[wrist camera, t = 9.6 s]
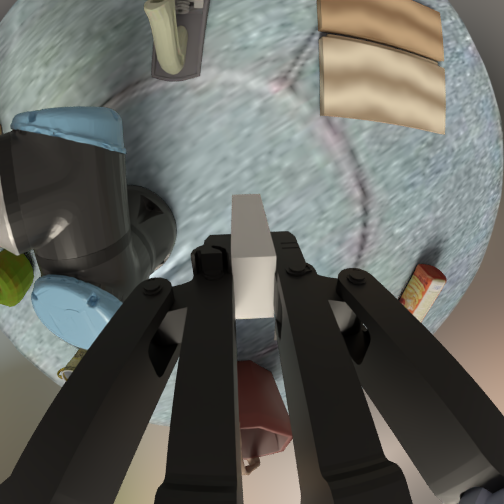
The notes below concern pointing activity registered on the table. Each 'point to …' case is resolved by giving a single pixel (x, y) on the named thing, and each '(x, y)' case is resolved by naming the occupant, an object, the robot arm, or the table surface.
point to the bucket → (260, 415)
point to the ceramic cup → (71, 364)
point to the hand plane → (177, 37)
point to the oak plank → (385, 24)
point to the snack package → (423, 290)
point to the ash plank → (380, 84)
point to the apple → (14, 277)
